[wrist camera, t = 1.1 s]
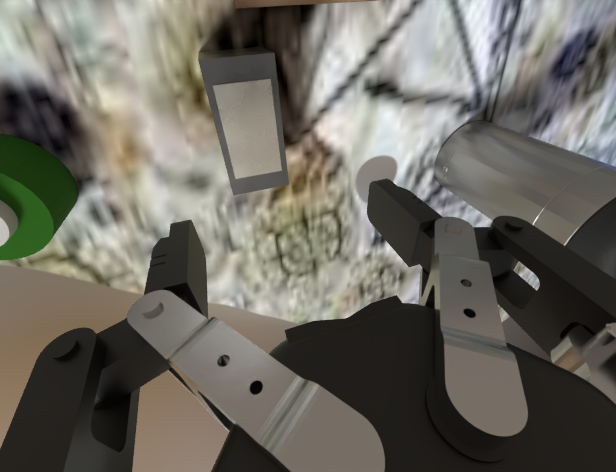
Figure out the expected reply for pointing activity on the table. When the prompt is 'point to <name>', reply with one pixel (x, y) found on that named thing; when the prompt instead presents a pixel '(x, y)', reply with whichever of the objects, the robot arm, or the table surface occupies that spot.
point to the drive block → (247, 116)
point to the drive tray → (284, 2)
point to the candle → (31, 197)
